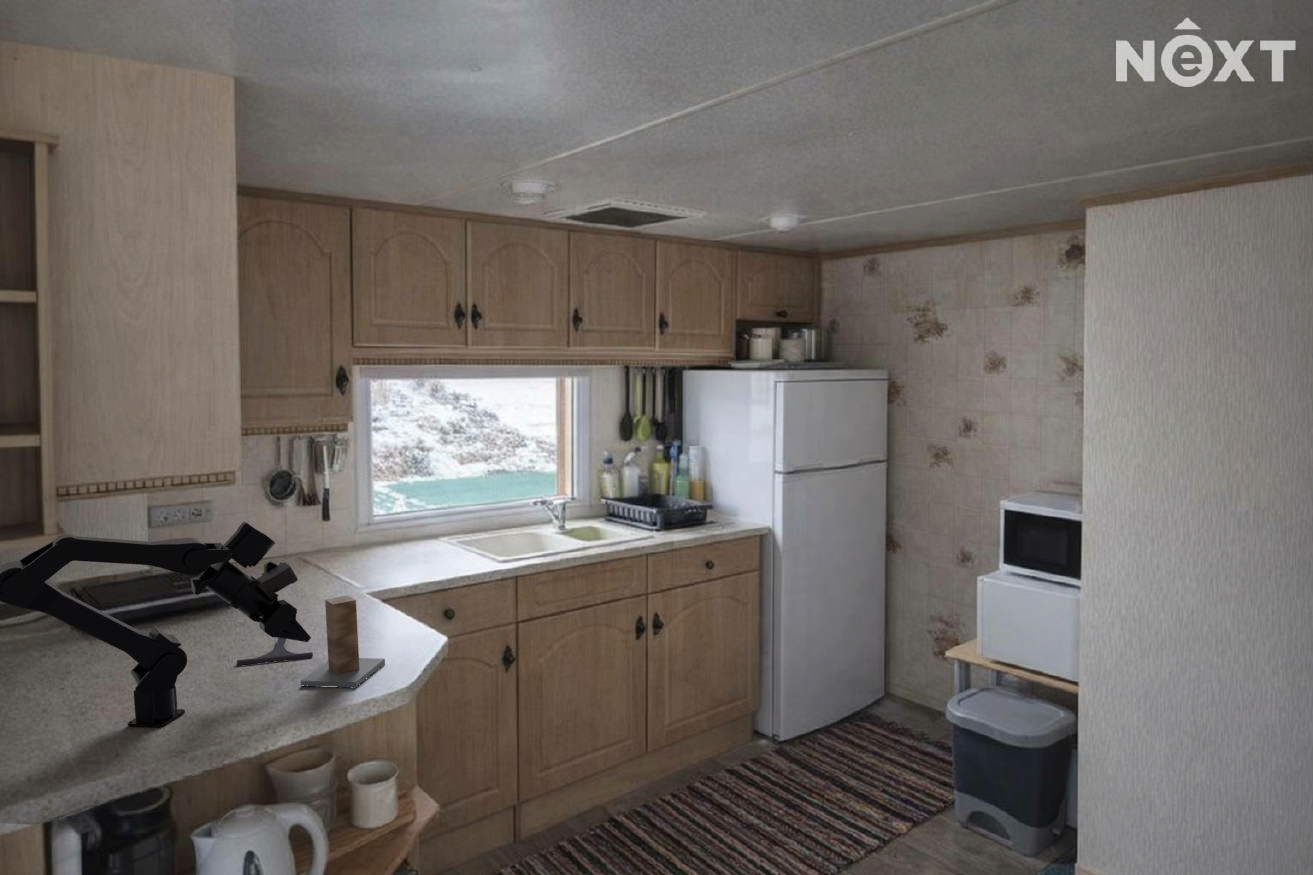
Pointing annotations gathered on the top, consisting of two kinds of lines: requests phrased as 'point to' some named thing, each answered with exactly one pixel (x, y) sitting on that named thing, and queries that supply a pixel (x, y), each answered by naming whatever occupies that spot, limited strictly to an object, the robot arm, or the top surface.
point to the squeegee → (276, 655)
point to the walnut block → (342, 634)
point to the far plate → (349, 679)
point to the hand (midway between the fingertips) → (301, 633)
